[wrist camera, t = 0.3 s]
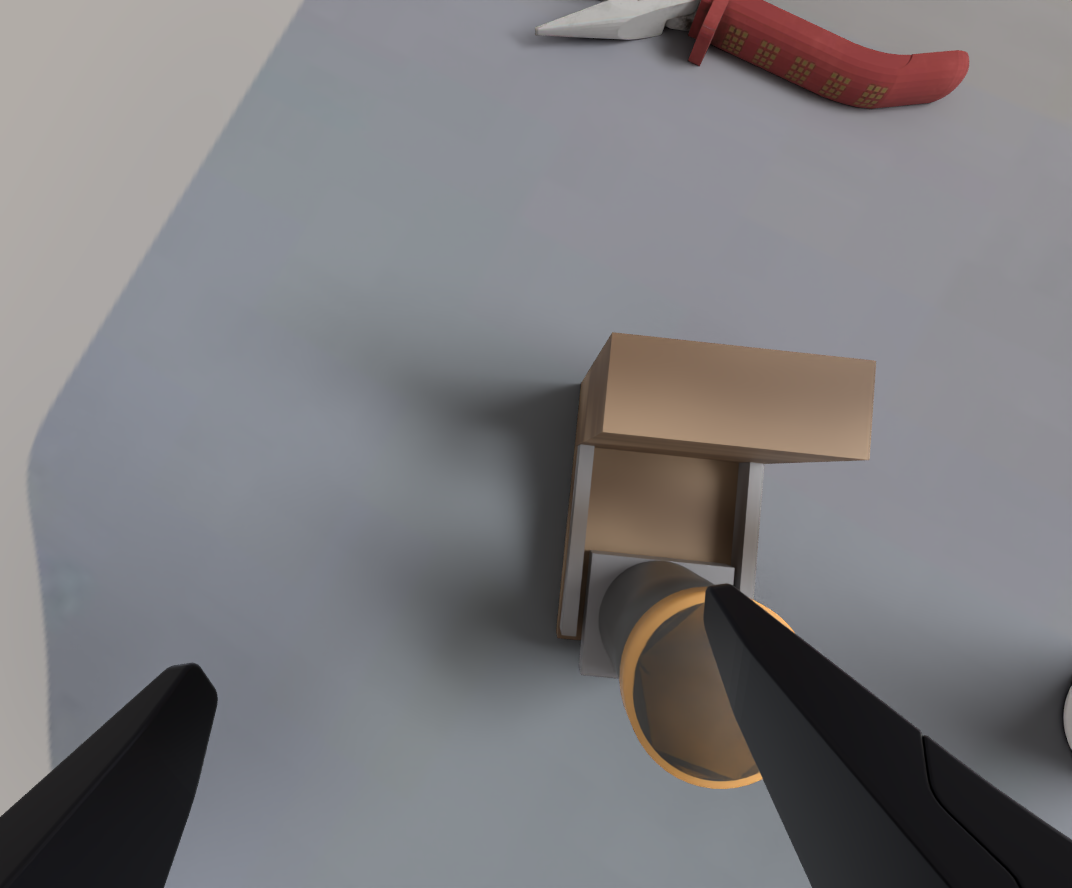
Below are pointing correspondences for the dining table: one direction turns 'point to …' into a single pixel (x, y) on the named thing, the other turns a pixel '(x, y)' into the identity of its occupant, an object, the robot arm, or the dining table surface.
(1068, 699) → the cosmetic bottle
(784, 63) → the pliers
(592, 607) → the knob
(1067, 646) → the dining table surface
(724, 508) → the mount
